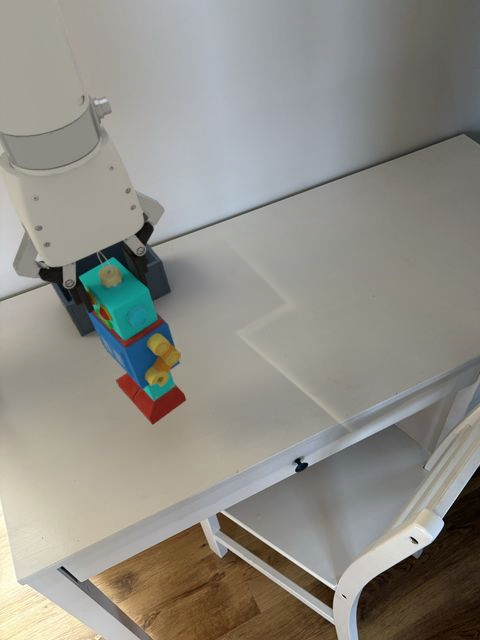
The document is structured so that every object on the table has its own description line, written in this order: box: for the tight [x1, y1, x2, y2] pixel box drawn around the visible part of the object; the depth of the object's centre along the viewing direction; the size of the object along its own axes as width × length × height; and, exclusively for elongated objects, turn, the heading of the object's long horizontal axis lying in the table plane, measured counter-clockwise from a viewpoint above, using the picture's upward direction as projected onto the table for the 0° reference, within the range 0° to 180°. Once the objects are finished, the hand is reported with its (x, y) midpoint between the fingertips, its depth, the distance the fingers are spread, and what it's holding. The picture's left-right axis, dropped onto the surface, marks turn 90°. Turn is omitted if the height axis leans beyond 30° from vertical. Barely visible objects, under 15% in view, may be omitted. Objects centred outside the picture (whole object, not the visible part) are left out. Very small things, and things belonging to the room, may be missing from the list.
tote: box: [50, 240, 172, 337], centre depth 94 cm, size 17×10×8 cm, turn 124°
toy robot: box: [79, 251, 187, 426], centre depth 62 cm, size 12×6×25 cm, turn 42°
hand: (113, 290), depth 57 cm, fingers closed on toy robot, 5 cm apart
